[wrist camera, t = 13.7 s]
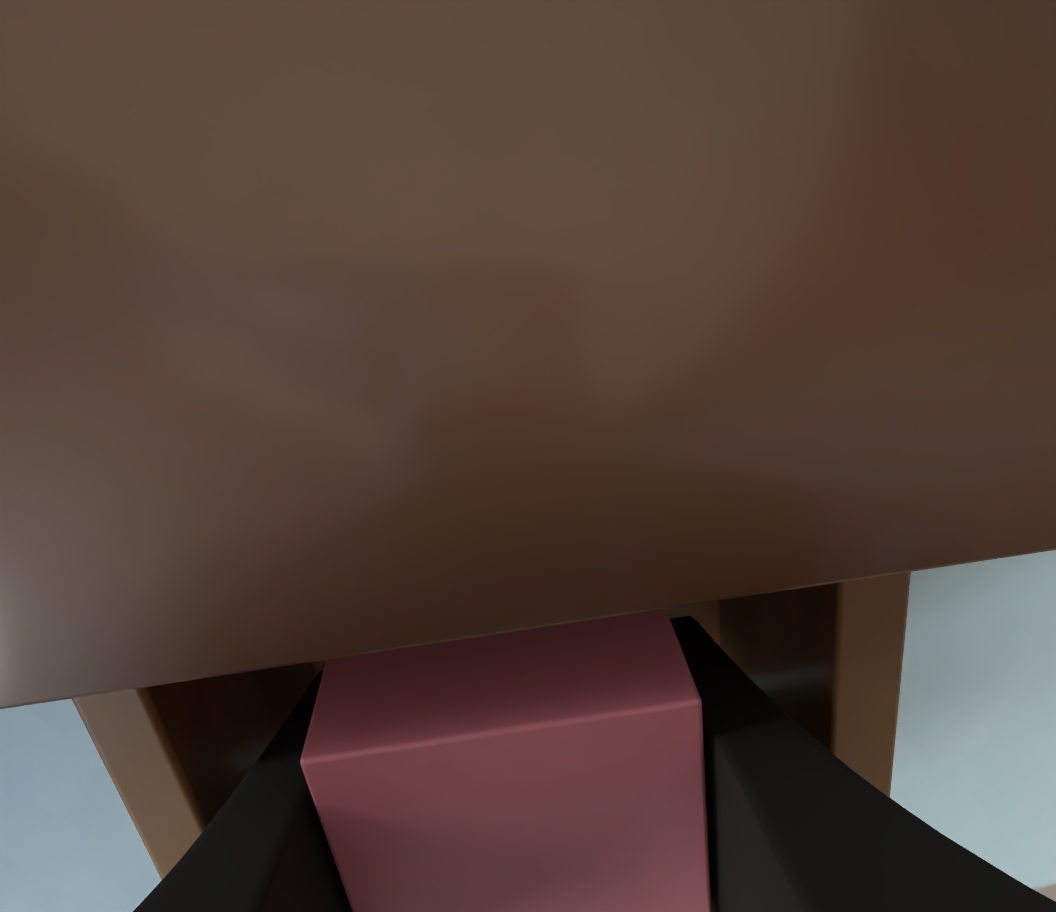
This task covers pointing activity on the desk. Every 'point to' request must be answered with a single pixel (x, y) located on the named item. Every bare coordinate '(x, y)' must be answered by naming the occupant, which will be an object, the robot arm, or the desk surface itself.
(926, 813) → the desk surface
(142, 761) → the drawer
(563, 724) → the block
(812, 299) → the cabinet
